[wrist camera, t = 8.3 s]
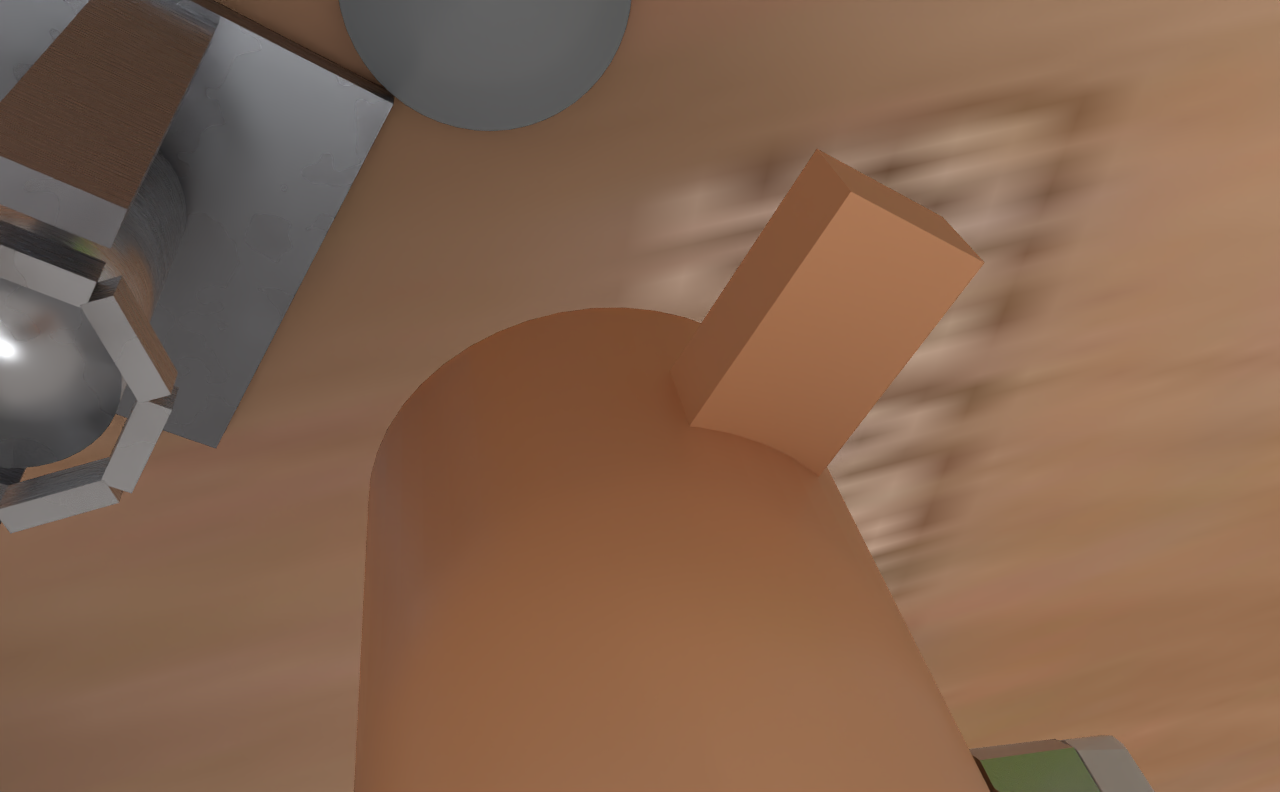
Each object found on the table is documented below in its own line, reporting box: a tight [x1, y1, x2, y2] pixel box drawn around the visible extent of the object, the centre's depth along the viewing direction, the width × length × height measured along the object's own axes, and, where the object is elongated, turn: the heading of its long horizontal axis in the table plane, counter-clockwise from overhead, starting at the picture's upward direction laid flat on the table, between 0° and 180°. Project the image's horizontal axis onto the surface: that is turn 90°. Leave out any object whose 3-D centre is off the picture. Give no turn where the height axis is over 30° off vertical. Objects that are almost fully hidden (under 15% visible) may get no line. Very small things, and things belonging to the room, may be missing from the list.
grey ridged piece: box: [0, 0, 394, 533], centre depth 30 cm, size 15×14×14 cm
